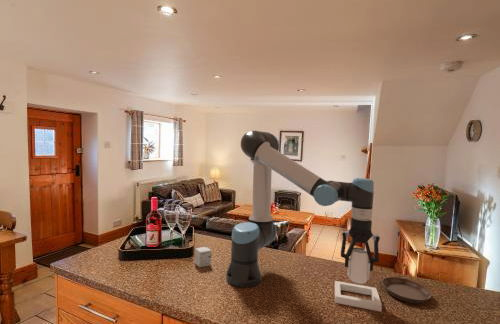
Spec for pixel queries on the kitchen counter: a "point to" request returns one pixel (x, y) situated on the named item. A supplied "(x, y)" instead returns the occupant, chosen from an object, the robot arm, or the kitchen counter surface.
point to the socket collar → (355, 301)
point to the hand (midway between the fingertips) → (358, 276)
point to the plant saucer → (406, 290)
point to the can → (358, 266)
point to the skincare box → (202, 256)
